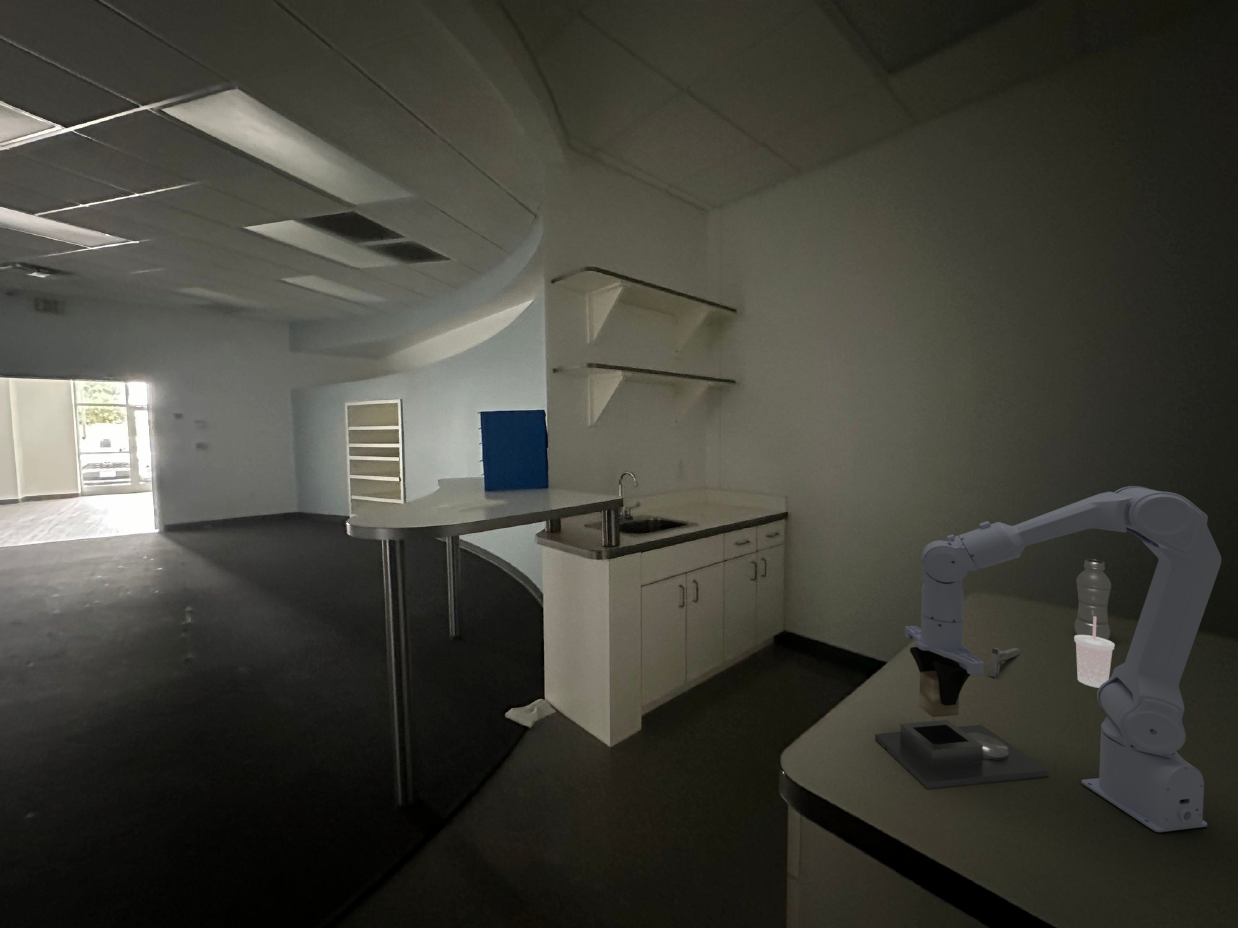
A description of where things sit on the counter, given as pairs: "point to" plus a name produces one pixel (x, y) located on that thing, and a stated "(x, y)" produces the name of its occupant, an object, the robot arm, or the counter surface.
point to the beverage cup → (1093, 658)
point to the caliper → (1000, 659)
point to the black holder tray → (957, 755)
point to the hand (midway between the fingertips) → (939, 698)
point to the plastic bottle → (1093, 600)
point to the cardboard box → (934, 696)
